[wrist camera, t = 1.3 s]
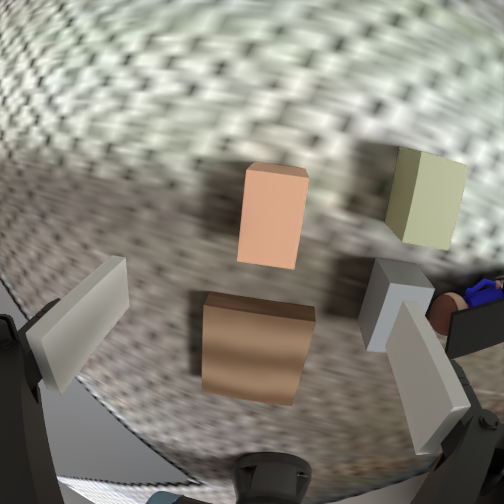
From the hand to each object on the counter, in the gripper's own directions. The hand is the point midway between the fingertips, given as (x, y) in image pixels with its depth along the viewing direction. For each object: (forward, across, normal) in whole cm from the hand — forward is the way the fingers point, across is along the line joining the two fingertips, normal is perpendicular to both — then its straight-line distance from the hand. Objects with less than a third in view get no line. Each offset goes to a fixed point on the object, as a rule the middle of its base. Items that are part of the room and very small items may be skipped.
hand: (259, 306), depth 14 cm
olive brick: (+19, -14, -4) cm, 24 cm away
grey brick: (+19, -14, +8) cm, 25 cm away
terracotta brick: (+19, 0, 0) cm, 19 cm away
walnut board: (+19, 0, +18) cm, 26 cm away
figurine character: (+19, -27, +7) cm, 34 cm away
